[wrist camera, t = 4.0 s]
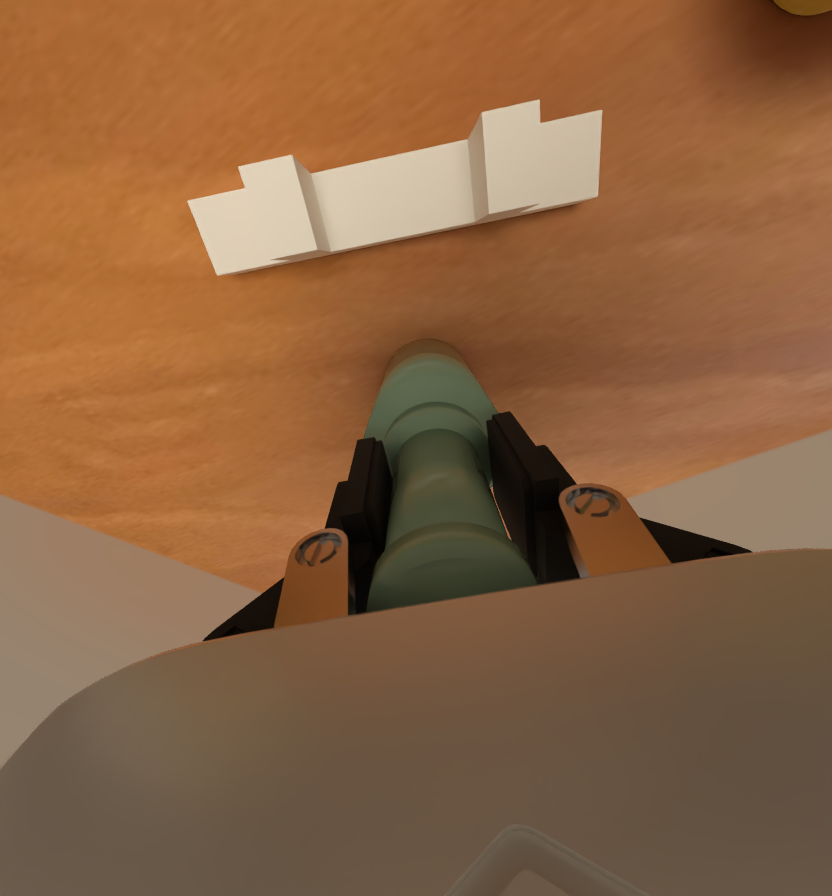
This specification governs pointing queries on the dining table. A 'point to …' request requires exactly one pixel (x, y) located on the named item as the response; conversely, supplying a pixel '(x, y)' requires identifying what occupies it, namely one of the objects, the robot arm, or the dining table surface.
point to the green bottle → (438, 484)
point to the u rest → (402, 191)
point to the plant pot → (805, 6)
